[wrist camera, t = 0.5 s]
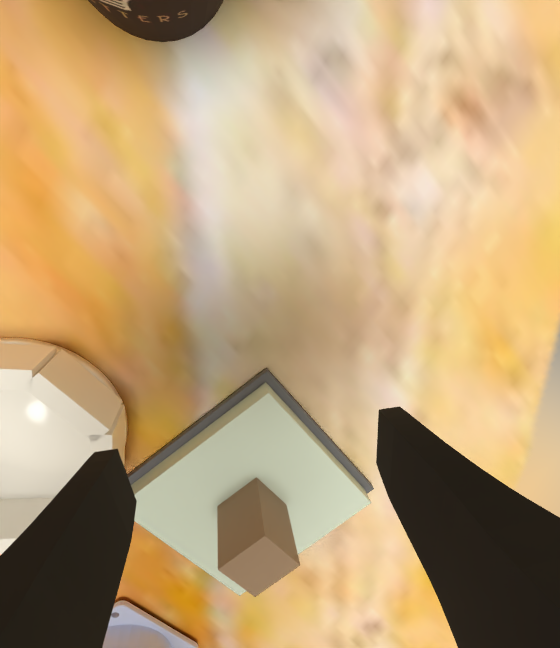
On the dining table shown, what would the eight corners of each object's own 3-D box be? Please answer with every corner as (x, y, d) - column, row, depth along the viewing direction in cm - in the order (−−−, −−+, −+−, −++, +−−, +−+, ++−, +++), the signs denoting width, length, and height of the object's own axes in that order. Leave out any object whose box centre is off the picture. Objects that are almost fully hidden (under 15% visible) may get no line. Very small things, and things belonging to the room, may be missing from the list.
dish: (36, 529, 22) (7, 584, 19) (-135, 422, 19) (-206, 470, 16) (166, 428, 22) (158, 469, 18) (14, 296, 18) (-29, 318, 15)
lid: (238, 578, 26) (243, 666, 21) (121, 492, 22) (95, 576, 17) (364, 488, 25) (399, 559, 20) (265, 382, 21) (280, 438, 16)
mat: (237, 580, 27) (237, 585, 26) (110, 487, 22) (108, 492, 22) (371, 484, 26) (373, 488, 25) (266, 368, 21) (267, 371, 21)
